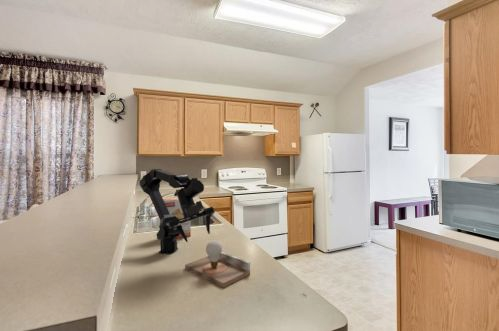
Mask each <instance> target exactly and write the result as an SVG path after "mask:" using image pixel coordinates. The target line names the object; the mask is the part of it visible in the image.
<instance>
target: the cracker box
mask: <svg viewBox="0 0 499 331" xmlns="http://www.w3.org/2000/svg"><path fill="white" fill-rule="evenodd" d="M163 200H164V202H165V204H166V207H167V209H168V211H169V213H170V215H171V216H176V217H177V218H178V219H182V218H184V215H183V212H182V209H181V206H180V203H179V199H178V197H175V198H174V197H171V198H163ZM191 221H192V220H190V221H187V222H184V223H182V224H180V225H182V228H183V231H184V233H185V235H186V237H187V238H188V237H191V231H192V228H191ZM181 238H183V237H182V236H181V234H180V233H179V236H177V237H176V239H181Z"/></svg>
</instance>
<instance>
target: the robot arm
mask: <svg viewBox="0 0 499 331" xmlns="http://www.w3.org/2000/svg"><path fill="white" fill-rule="evenodd" d="M162 181H163V182H166V183H168V185H169V187H172V189H176V190H175V192H174V195H173V196H174V197H177V198H178V199H179V203H180V206H181V209H182V212H183V215H184V218H182V219H178V218H177V217H176V216H171V215H170V213H169V211H168V209H167V207H166V204H165V202H164V200H163V199H164V198H163V196H162V194H161V192H160V187H161V183H162ZM139 186H140V188H141V189H142V191H143V192H144V193H145V194H147V195H148V196H149V198H150V201H151V203H152V205H153V207H154V209H155V212H156V213H157V216H158V218H159V220H160V221H159V224H158V228H159V230H158V231H157V233H156V239H157V240H159V241H160V242H159V243H160V249H159V251H158V253H159V254H168V255H169V254H173V253H175V252H177V250H178V249H179V248H178V240H177V238H176V237H177V236H179V233H180V234H181V236H182V238H183V239H184V241H185V242H186V243H188V237H186V235H185V233H184V231H183V228H182V225H180V224H182V223H184V222H187V221H190V220H191V221H194V220H197V219H199V218H202V217H204V219H203V220H204V223H205V228H206V231H207V234H208V235H210V233H211V230H210V228H211V227H210V225H211V224H210V222H211V218H212V217H213V215H214V214H215V213H216V210H215V208H214V207H213V206H210V207H206V208H204V207H203V203H202V201H201V200H199V201H196V202H195V200H194V198H195V197H197V196H198V195H200V194H201V193H203V192H204V190H205V185H204V184H203V182H202V181H201V180H199V179H198V178H197V177H192V178H190V177H189V175H188V174H187V173H173V172H170V171H166V170H164V169H162V168H152V169H150V171H149V172H147V173H146V174H144V175H143V176H142V177H141V179H140V181H139ZM200 210H202V211H201V212H200Z"/></svg>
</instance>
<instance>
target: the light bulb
mask: <svg viewBox="0 0 499 331" xmlns="http://www.w3.org/2000/svg"><path fill="white" fill-rule="evenodd" d="M205 251H206V254H207V255H208V256H209V258H210V262H211V266H212V267H213V268H215V267H217V266H218V259H219V255H220V254H221V252H223V247H222V243H221V242H220V241H217V240H211V241H209V242H208V243H207V244H206V246H205ZM208 256H207V257H208Z"/></svg>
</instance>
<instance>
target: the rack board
mask: <svg viewBox="0 0 499 331" xmlns="http://www.w3.org/2000/svg"><path fill="white" fill-rule="evenodd" d="M184 265H185V266H184V269H185V270H188V271H189V272H191V273H194V274H195V275H197V276H199V277H201V278H203V279H205V280H207V281H209V282H211V283H213V284H215V285H217V286H219V287H221V288H226V287H228V286H230V285H232V284H234V283H235V282H238V281H239V280H241V279H244V278H246V277H247V276H249V275H251V261H248V260H246V259H243V258H240V257H237V256H235V255H233V254H229V253H227V252H224V251H221V254H220V255H219V259H218V266H217V267H215V268H213V267H212V266H211V262H210V258H209V256H206V257H203V258H200V259H197V260H194V261H191V262H189V263H186V264H184Z"/></svg>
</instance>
